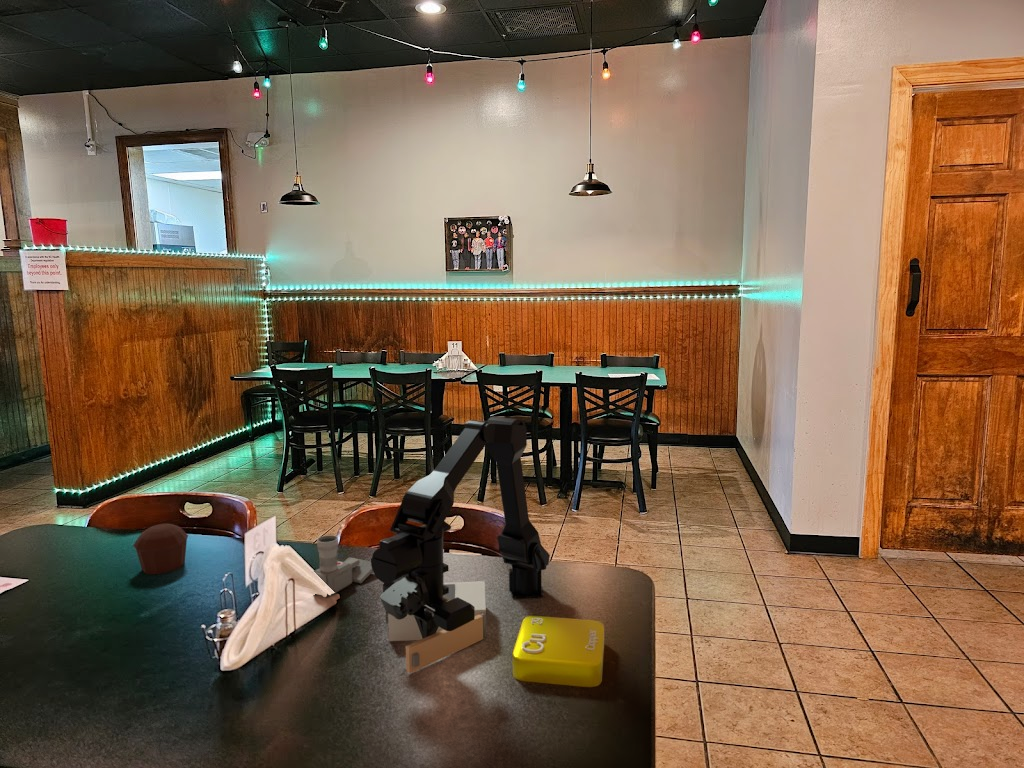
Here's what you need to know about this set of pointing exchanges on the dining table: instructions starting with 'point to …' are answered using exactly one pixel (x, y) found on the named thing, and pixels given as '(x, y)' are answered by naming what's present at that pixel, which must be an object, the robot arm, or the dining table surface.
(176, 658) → the dining table surface
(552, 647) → the element tile
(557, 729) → the dining table surface
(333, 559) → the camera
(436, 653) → the side door
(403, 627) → the white box
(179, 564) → the muffin
